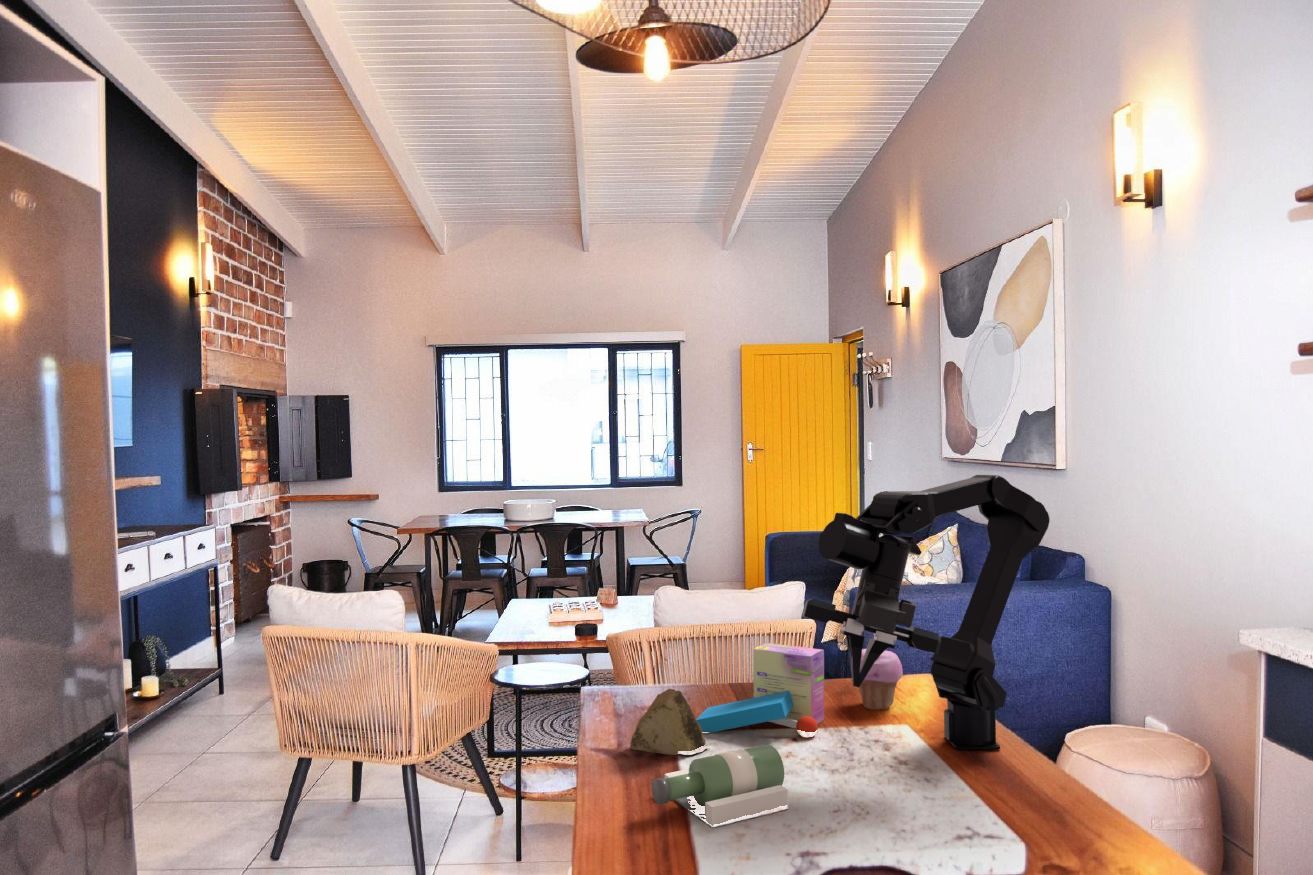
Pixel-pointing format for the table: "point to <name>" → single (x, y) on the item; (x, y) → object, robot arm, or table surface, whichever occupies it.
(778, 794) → the rest
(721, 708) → the lever
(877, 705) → the cupcake
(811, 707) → the box
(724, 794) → the bottle
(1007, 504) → the robot arm
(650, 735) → the rock
